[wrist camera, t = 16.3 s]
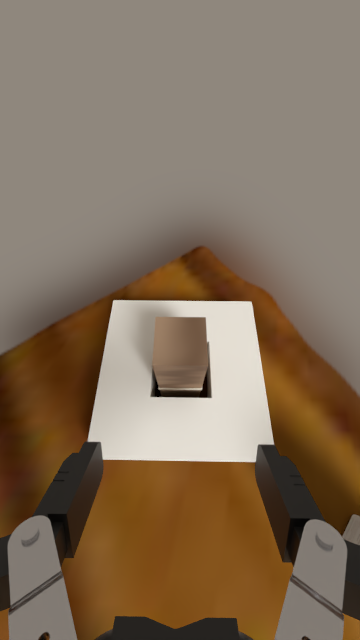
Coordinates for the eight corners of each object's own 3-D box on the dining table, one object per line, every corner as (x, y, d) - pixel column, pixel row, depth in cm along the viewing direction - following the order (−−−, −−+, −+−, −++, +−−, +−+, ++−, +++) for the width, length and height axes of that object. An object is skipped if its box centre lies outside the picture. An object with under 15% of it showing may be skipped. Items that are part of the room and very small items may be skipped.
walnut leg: (161, 398, 30) (150, 366, 19) (163, 362, 32) (154, 316, 22) (199, 398, 30) (209, 366, 19) (198, 362, 32) (206, 316, 22)
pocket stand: (98, 458, 27) (84, 459, 23) (120, 317, 36) (113, 300, 32) (262, 461, 26) (276, 462, 23) (243, 318, 35) (251, 301, 31)
